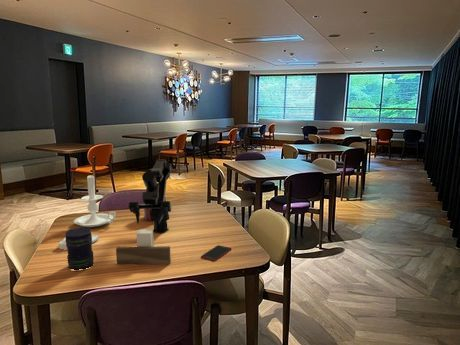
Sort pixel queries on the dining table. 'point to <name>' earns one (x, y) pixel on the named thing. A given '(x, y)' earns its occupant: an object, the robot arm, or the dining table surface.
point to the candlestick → (93, 208)
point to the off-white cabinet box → (145, 238)
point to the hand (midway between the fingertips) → (148, 223)
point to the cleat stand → (143, 255)
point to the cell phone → (216, 253)
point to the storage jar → (79, 248)
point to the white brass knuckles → (63, 243)
